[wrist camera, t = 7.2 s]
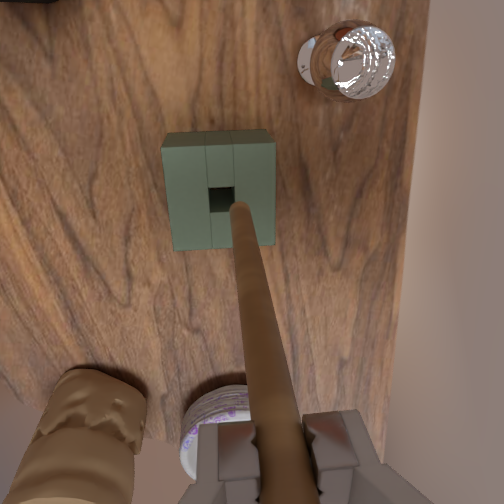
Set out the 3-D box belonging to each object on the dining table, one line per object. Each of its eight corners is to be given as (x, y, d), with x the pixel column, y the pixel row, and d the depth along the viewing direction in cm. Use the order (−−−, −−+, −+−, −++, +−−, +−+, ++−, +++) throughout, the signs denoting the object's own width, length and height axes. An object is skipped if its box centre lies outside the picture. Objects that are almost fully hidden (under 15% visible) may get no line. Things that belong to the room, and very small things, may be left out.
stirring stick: (249, 200, 26) (366, 664, 6) (250, 219, 26) (359, 698, 7) (228, 201, 26) (279, 678, 6) (229, 221, 26) (278, 709, 7)
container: (72, 431, 57) (19, 578, 41) (42, 367, 51) (-33, 509, 35) (158, 418, 57) (138, 558, 41) (138, 353, 52) (107, 487, 36)
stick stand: (265, 128, 40) (276, 142, 34) (266, 218, 45) (275, 245, 38) (167, 132, 39) (160, 147, 33) (178, 223, 44) (173, 251, 38)
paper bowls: (207, 356, 53) (207, 402, 46) (302, 385, 57) (315, 432, 50) (166, 428, 59) (161, 479, 52) (255, 450, 63) (262, 500, 56)
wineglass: (301, 18, 36) (340, 3, 25) (357, 38, 37) (417, 31, 27) (282, 83, 38) (311, 94, 28) (335, 99, 40) (382, 116, 29)
